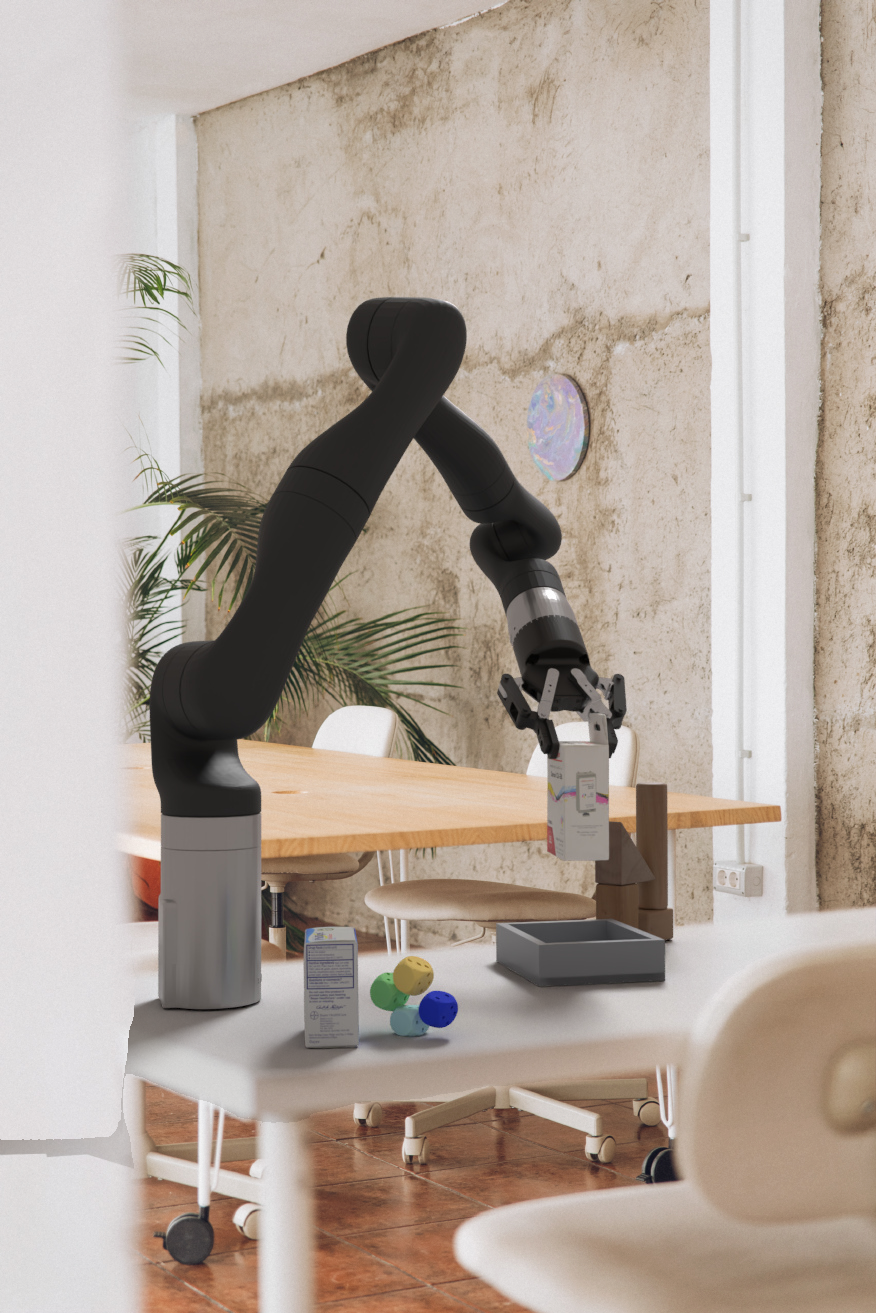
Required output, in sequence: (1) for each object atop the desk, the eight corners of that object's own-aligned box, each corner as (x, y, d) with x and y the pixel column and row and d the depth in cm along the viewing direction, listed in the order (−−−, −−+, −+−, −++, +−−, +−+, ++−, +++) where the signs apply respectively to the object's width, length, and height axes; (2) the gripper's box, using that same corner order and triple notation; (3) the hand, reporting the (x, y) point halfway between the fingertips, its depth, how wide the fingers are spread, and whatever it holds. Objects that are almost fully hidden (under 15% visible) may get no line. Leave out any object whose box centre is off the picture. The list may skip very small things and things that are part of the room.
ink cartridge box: (544, 852, 167) (544, 712, 168) (590, 852, 168) (591, 712, 168) (562, 861, 159) (562, 713, 159) (610, 861, 160) (611, 713, 160)
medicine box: (359, 1048, 128) (359, 940, 128) (303, 1049, 128) (303, 940, 128) (356, 1027, 136) (356, 925, 136) (303, 1028, 135) (303, 926, 136)
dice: (461, 1037, 132) (461, 959, 132) (442, 1042, 130) (442, 963, 130) (385, 1025, 137) (385, 950, 137) (366, 1030, 135) (366, 954, 135)
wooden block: (594, 947, 178) (594, 785, 178) (647, 936, 186) (647, 781, 186) (622, 951, 175) (621, 787, 176) (674, 939, 183) (674, 782, 184)
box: (539, 986, 154) (538, 945, 154) (496, 961, 169) (496, 923, 169) (665, 980, 157) (664, 939, 158) (612, 955, 172) (612, 918, 172)
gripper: (489, 612, 169) (522, 728, 158) (616, 613, 173) (658, 727, 161) (475, 662, 175) (507, 779, 163) (600, 663, 178) (639, 777, 166)
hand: (582, 752), depth 162 cm, fingers closed on ink cartridge box, 5 cm apart
